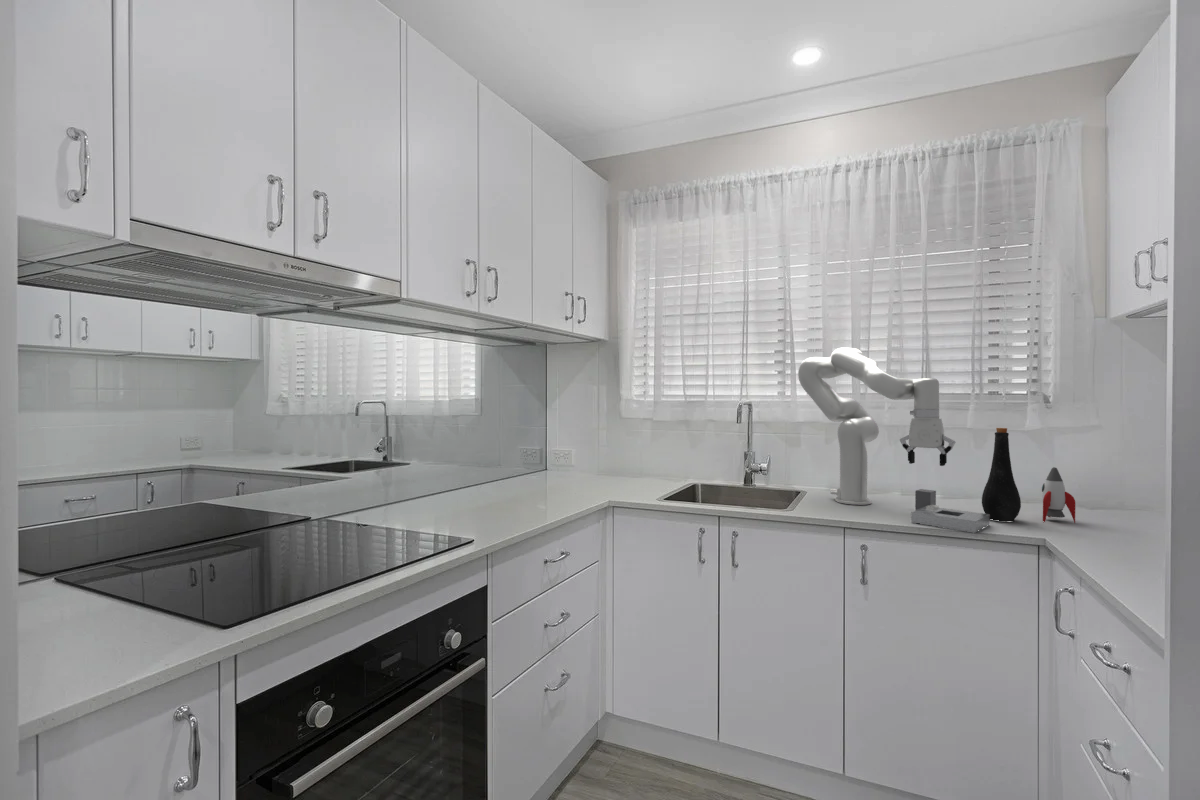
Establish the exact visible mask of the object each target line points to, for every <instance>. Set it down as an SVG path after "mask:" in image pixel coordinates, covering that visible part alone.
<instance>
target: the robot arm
mask: <svg viewBox="0 0 1200 800" xmlns="http://www.w3.org/2000/svg"><path fill="white" fill-rule="evenodd" d="M842 375H849V376H851V377H853V378H855V379H857V380H859V381H860V382H863V384H864V385H866V387H867V388H869V389H870V390H872V391H874V392H875V393H876V394H877V393H878V394H879V395H881V396H883V397H885V398H886V399H890V400H893V401H899V400H900V401H901V400H902V401H904V400H905V401H907V400H908V401H909V400H913V410H910V411H909V414H910V416H913V417H912V418H911V420H910V424H909V431H908V432H909V433H908V435H905V436H903V437H902V438H901V437H900V439H899V442H900V444H901V446H902V447H903V449H905V450H906V452H907V461H908V464H915V462H916V461H915V460H916V459H915V458H916V453H915V451H914V450H915V449H916V448H923V449H938V452H940V454H939V466H941V467H944V466H946V464H947V461H948V460H947V457H948V456H947V454H949V452H950V451H951V450H953V448H954V446H955V445H956V441H955V439H952V438H949V437H948V436H946V435H945V431H944V423H943V421H942V418H940V381H939V380H938V379H937V378H934V377H930V378H929V377H927V378H923V377H921V378H917V379H916V378H915V379H914V378H908V377H907V378H905V377H898V378H897V377H895V376H893V375H890V374H888V373H887V372H884V371H883V370H881V369H880V368H879V366H878V363H877V361H875V360H874V359H871V358H869V357H867V356H865V355H864V353H863V352H862V351H861V350H860V349H858V348H855V347H838V348H836V349H835V350H833V351H832V352H831V355H830V356H828V357H822V356H813V357H807V358H806V359H804V360H802V362H801V363H800V365H799V367H798V373H797V376H798V380H799V381H798V382H799V383H800V386H801V387H802V388H803V391H805V393H807V395H808V397H809V398H811V400H812V401H813V402H814V404H815V405H816V406H817V407H818V408H819V410H820V411H821V412H822V413H823V414H824V416H825V417H826V418H827V419H828V420H829V421H831V422H838V423H839V422H841V423H840V424H839V426H838V428H837V439H838V445H839V488H830V490H829V491H830V495H836V497H835V498H834V499H835V500H834V501H836V502H837V503H840V504H843V505H851V506H852V505H853V506H854V505H855V506H865V505H866V506H867V505H870V504H872V503H873V502H872V499H871V498H868V451H867V447H866V443H870V442H874V440H876V439H877V438H878V435H879V432H880V430H879V425H878V423H877V422H876V421H875V419H874V418H873V417H872V416H871V415H870V413H869V412H868V411H867V410H866V409H865V408H864V406H863V405H862V404H861V403H859V401H857V400H856V399H854V398H853V397H848V396H840V395H839V394H838V392H836V391H835V390H834V388H833V387H832V386H831V385H830V384H828V382H826V381H825V380H826V379H832V378H836V377H839V376H842ZM907 441H908V443H907ZM945 442H946V443H948V445H947V446H946V447H945Z"/></svg>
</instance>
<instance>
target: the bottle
mask: <svg viewBox="0 0 1200 800" xmlns="http://www.w3.org/2000/svg"><path fill="white" fill-rule="evenodd" d="M1009 435H1010V434H1009V432H1008V428H1007V427H996V432H994V445H993V455H992V461H991V468H990V470H989V471H990V472H989V475H988V477H987V481H986V483H985V486H984V489H983V491H982V495H981V506H982V509H983V512H984V514H990V519H993V520H999V521H1014V522H1015V519H1017V517H1018V516H1019V515H1020V511H1021V508H1022V503H1021V502H1022V501H1021V495H1020V492H1019V490H1018V487H1017V484H1016V481H1015V478H1014V474H1013V469H1012V462H1011V455H1010V444H1009V441H1010V439H1009Z"/></svg>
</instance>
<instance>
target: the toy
mask: <svg viewBox="0 0 1200 800" xmlns="http://www.w3.org/2000/svg"><path fill="white" fill-rule="evenodd" d="M1041 492H1042V522H1043V521H1044V522H1045V523H1046V520H1047V518H1048V517H1050V518H1065V517H1066V515H1065V514H1064V512H1063V510H1064V508H1065V506H1066V507H1067V509H1068V511H1069V512H1070V514H1071V516H1072V517H1071V518H1072V521H1073V522H1074V524H1076V499H1075V498H1074V496H1073V495H1072V494H1070V493H1069V492H1067V491H1066V488H1065V485H1064V480H1063V479H1062V476H1061V474H1060V472H1059V470H1058V468H1057V467H1054V466H1053V467H1051V469H1050V471H1049V473H1048V475H1047V476H1046V479H1045V481H1044V483H1043V484H1042V486H1041ZM1044 522H1043V523H1044Z"/></svg>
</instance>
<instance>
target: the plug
mask: <svg viewBox="0 0 1200 800" xmlns="http://www.w3.org/2000/svg"><path fill="white" fill-rule="evenodd" d="M928 505H937V490H933V489H924V488H919V489H916V490H915V503H914V506H915V507H914V509H915V510H918V509H921V508H923V507H926V506H928ZM915 510H914V511H915Z"/></svg>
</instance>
